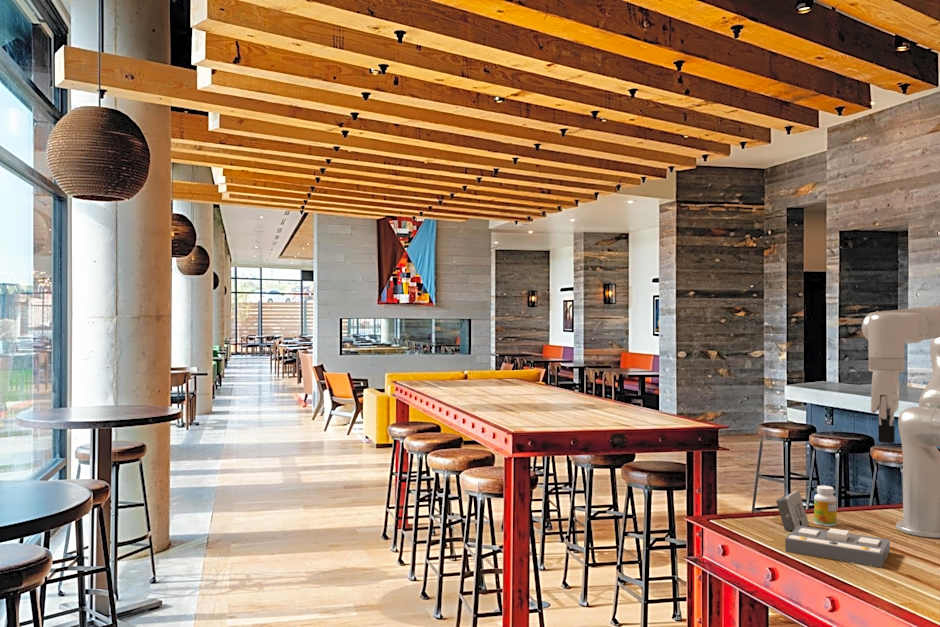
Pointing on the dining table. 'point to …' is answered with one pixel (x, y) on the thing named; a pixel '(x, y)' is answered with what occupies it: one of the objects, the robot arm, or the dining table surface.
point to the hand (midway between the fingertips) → (886, 442)
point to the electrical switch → (792, 511)
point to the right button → (869, 542)
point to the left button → (808, 532)
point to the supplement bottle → (825, 506)
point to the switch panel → (838, 547)
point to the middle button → (838, 535)
